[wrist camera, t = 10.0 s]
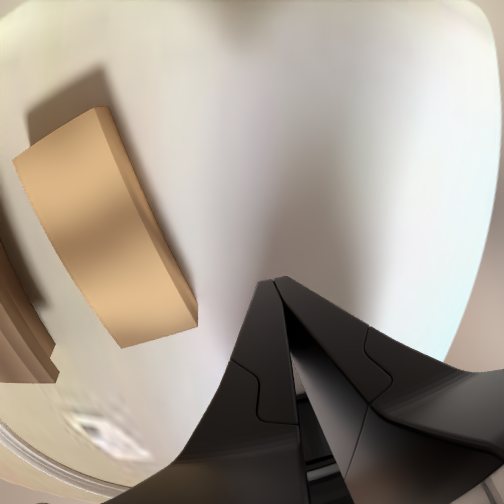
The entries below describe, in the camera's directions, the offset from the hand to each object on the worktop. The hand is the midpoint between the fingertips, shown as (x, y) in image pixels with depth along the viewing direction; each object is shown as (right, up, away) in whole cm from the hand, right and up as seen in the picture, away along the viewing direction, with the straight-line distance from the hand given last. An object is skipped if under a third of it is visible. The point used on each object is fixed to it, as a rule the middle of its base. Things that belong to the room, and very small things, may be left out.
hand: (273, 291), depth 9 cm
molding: (-30, -30, +20) cm, 47 cm away
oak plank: (-8, +2, +7) cm, 11 cm away
